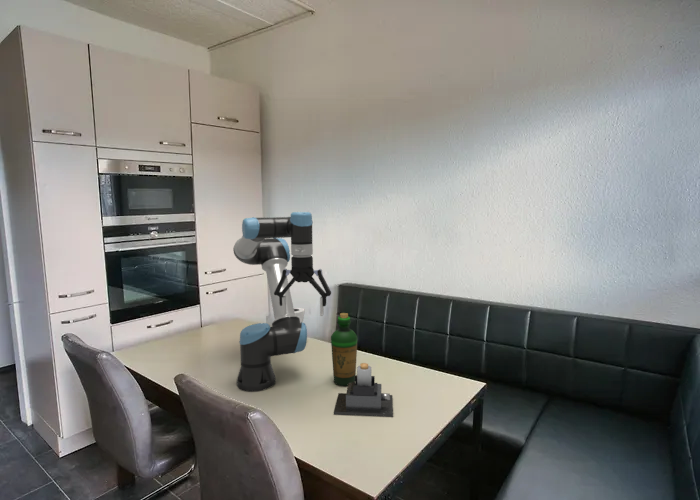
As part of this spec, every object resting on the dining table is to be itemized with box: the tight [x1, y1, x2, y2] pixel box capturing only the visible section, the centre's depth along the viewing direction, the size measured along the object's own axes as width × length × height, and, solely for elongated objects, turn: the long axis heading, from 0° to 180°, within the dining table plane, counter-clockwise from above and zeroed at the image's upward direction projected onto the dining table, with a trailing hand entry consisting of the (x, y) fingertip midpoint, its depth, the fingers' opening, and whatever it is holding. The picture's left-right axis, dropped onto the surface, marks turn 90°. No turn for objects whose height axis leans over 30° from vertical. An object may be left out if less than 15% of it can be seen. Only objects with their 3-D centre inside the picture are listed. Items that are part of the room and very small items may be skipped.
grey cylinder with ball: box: [356, 362, 372, 386], centre depth 144 cm, size 5×5×9 cm
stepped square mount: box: [333, 374, 394, 418], centre depth 144 cm, size 20×14×9 cm
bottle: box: [330, 312, 359, 387], centre depth 163 cm, size 11×11×28 cm
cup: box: [293, 307, 305, 323], centre depth 209 cm, size 11×11×18 cm
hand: (303, 314), depth 147 cm, fingers open, 13 cm apart
